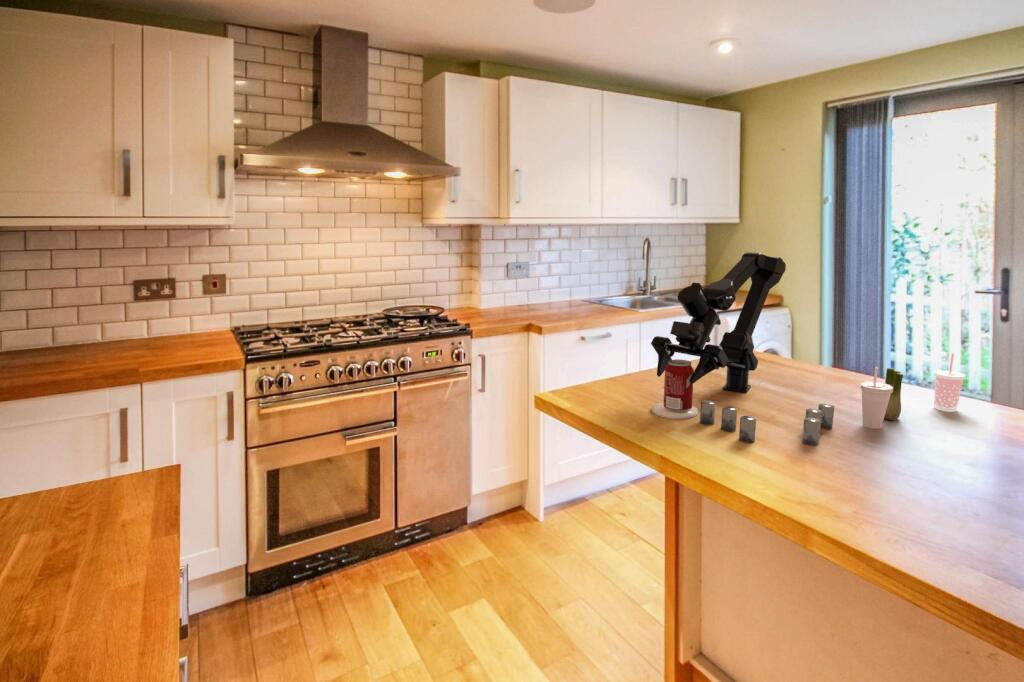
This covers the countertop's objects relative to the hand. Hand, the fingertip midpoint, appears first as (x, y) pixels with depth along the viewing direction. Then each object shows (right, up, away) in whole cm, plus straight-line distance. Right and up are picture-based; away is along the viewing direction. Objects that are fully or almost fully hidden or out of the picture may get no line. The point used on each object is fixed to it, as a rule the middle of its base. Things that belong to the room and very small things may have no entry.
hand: (674, 379), depth 148 cm
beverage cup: (+68, -8, +2) cm, 68 cm away
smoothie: (+43, -10, -9) cm, 45 cm away
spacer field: (+18, -11, -13) cm, 25 cm away
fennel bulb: (+49, -9, -4) cm, 50 cm away
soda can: (+1, -8, +2) cm, 8 cm away
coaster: (+1, -8, +2) cm, 9 cm away
